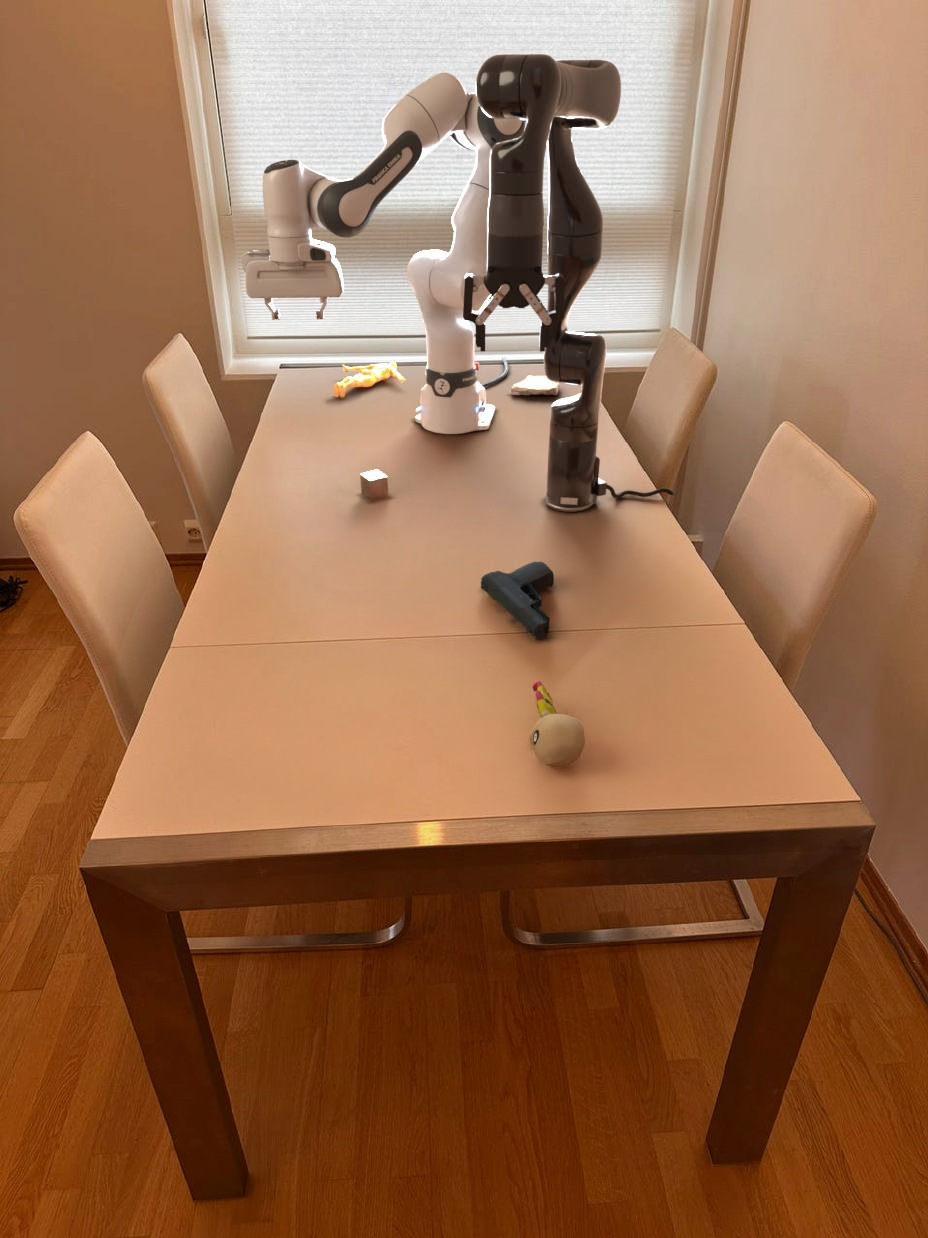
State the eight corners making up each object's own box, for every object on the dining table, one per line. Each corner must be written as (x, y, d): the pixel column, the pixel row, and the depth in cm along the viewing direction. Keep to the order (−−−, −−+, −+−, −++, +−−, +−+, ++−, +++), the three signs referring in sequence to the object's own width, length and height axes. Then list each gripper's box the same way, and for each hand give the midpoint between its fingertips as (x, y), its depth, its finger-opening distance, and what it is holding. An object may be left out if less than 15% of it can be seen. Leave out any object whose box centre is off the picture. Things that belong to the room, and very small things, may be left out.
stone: (553, 399, 232) (554, 389, 231) (509, 395, 235) (509, 385, 234) (564, 385, 243) (564, 375, 241) (521, 381, 246) (522, 372, 244)
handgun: (595, 623, 140) (530, 643, 135) (537, 573, 153) (475, 590, 148) (597, 606, 138) (530, 625, 134) (538, 557, 151) (476, 573, 147)
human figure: (402, 372, 253) (401, 358, 251) (409, 392, 236) (408, 377, 234) (333, 377, 251) (331, 363, 249) (335, 398, 234) (333, 382, 232)
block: (371, 502, 179) (369, 480, 177) (361, 494, 182) (359, 473, 180) (388, 497, 181) (387, 476, 178) (378, 490, 184) (377, 469, 181)
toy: (510, 684, 120) (525, 756, 108) (557, 660, 119) (578, 730, 106) (530, 713, 123) (547, 787, 110) (577, 690, 122) (599, 762, 109)
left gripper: (237, 253, 180) (246, 323, 187) (338, 251, 180) (344, 322, 187) (243, 247, 185) (252, 315, 192) (342, 246, 185) (347, 314, 192)
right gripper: (462, 233, 117) (462, 357, 126) (570, 233, 117) (563, 357, 126) (463, 224, 124) (463, 343, 132) (566, 224, 123) (559, 343, 132)
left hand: (298, 318), depth 190 cm, fingers open, 8 cm apart
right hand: (512, 350), depth 129 cm, fingers open, 8 cm apart
